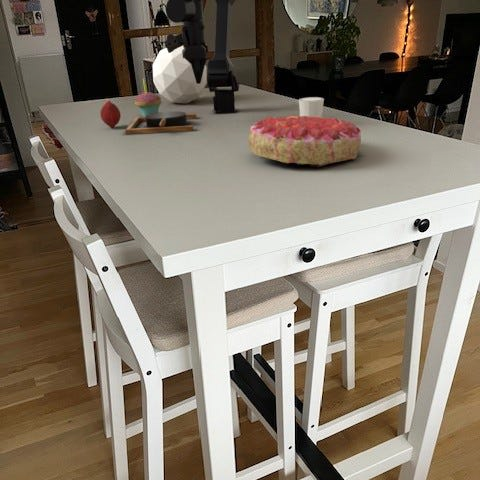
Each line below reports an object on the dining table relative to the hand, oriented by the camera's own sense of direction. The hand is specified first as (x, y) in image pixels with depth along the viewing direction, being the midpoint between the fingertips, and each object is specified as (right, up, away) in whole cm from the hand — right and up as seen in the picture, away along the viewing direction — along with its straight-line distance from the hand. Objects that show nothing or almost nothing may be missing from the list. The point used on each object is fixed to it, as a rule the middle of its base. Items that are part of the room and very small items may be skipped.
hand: (198, 83), depth 149 cm
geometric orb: (-9, +12, +42) cm, 44 cm away
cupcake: (-18, -1, +21) cm, 28 cm away
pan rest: (-11, -10, +6) cm, 16 cm away
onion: (-26, -10, +7) cm, 29 cm away
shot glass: (+32, -14, -5) cm, 35 cm away
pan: (-10, -12, +2) cm, 16 cm away
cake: (+26, -31, -32) cm, 52 cm away
